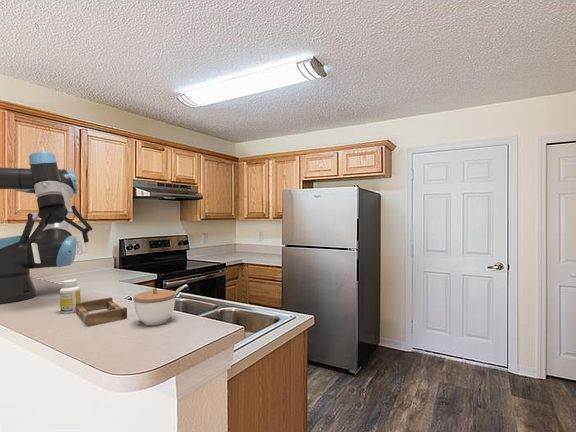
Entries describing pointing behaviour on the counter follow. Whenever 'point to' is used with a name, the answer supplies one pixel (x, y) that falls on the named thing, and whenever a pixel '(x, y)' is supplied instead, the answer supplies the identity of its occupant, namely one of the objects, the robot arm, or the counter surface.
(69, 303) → the supplement bottle
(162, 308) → the lidded jar
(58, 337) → the counter surface
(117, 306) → the walnut frame
